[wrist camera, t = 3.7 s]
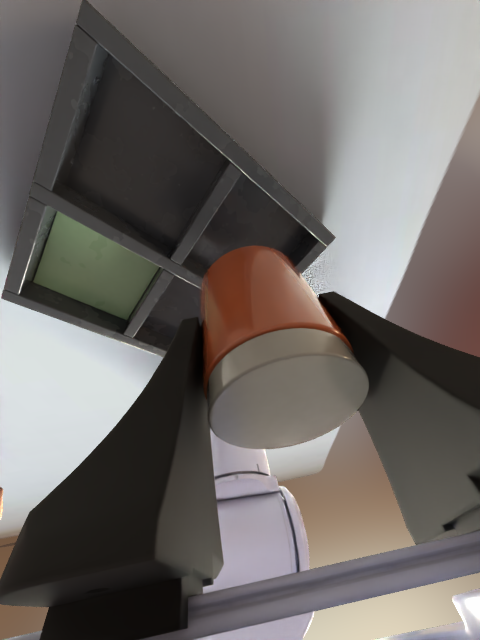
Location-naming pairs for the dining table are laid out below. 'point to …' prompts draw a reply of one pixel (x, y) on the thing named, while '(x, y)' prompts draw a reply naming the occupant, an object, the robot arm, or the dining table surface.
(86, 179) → the rack
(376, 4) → the dining table surface
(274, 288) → the jar
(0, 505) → the butternut squash
